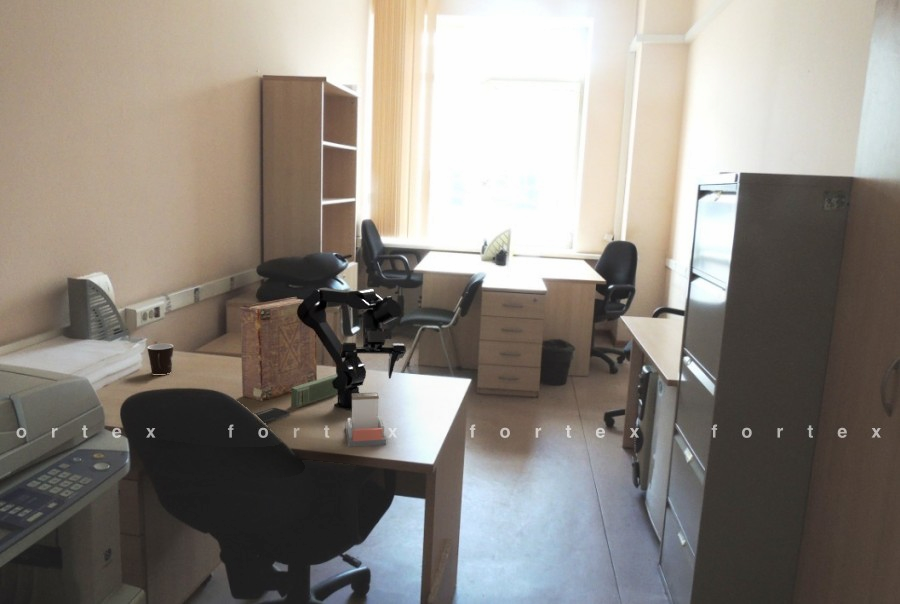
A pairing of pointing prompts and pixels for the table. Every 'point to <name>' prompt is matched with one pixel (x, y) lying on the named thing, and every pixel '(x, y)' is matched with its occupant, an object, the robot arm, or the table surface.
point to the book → (275, 349)
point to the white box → (364, 410)
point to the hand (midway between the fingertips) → (374, 378)
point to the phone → (272, 415)
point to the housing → (365, 435)
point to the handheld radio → (312, 391)
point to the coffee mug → (160, 358)
